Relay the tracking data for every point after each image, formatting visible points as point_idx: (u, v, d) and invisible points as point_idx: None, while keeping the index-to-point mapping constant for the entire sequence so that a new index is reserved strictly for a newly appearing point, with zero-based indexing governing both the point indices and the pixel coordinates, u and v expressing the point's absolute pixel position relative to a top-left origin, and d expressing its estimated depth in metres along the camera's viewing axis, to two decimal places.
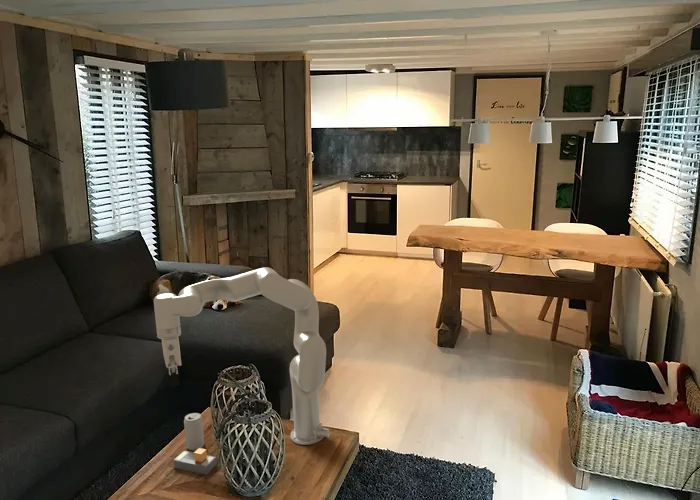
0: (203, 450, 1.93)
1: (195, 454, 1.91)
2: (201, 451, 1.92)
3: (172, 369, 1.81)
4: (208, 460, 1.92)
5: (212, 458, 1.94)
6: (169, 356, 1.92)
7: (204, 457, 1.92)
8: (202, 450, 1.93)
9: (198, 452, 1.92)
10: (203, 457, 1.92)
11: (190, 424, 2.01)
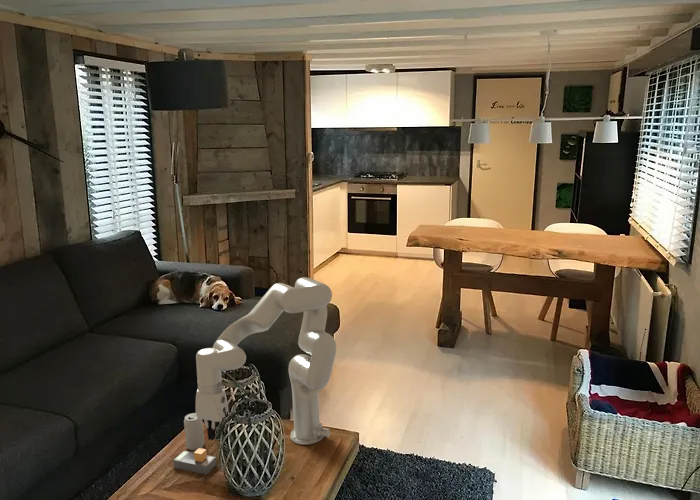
0: (203, 450, 1.93)
1: (195, 454, 1.91)
2: (201, 451, 1.92)
3: None
4: (208, 460, 1.92)
5: (212, 458, 1.94)
6: None
7: (204, 457, 1.92)
8: (202, 450, 1.93)
9: (198, 452, 1.92)
10: (203, 457, 1.92)
11: (190, 424, 2.01)
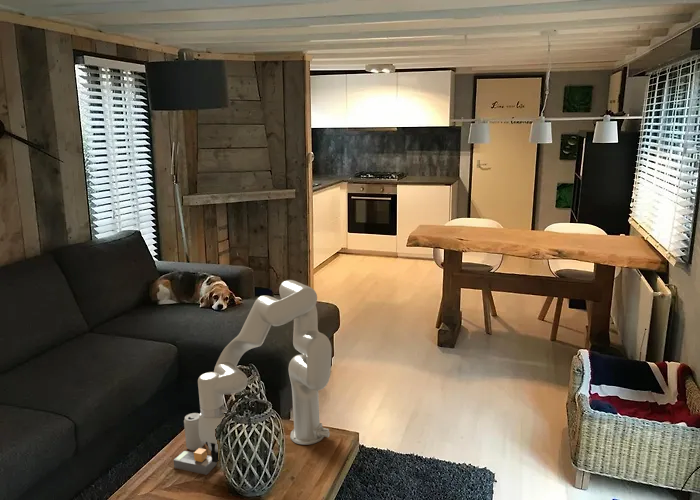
0: (203, 450, 1.93)
1: (195, 454, 1.91)
2: (201, 451, 1.92)
3: None
4: (208, 460, 1.92)
5: None
6: None
7: (204, 457, 1.92)
8: (202, 450, 1.93)
9: (198, 452, 1.92)
10: (203, 457, 1.92)
11: (191, 424, 2.01)
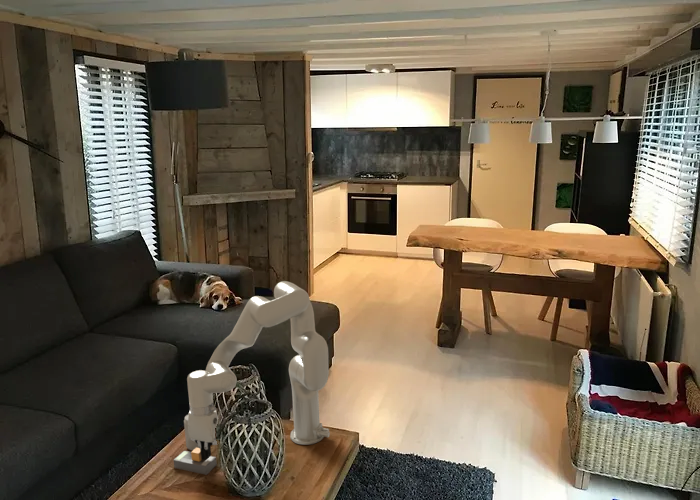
0: None
1: (192, 453, 1.92)
2: (198, 450, 1.92)
3: None
4: (208, 460, 1.92)
5: (212, 458, 1.94)
6: None
7: None
8: (199, 449, 1.93)
9: (195, 451, 1.92)
10: (200, 456, 1.92)
11: None
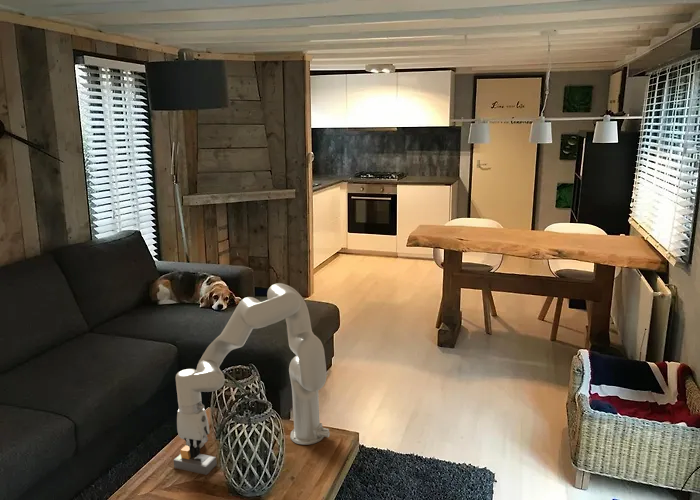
0: None
1: (182, 451, 1.93)
2: (188, 448, 1.94)
3: None
4: (208, 460, 1.92)
5: (212, 458, 1.94)
6: None
7: None
8: (188, 447, 1.95)
9: (185, 449, 1.94)
10: None
11: None
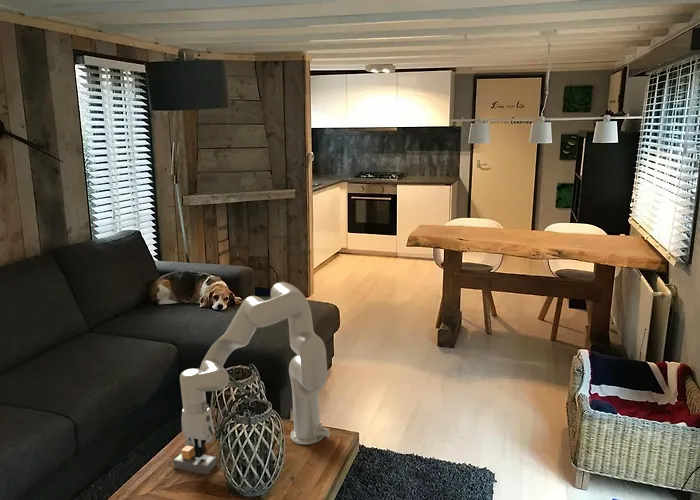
0: (191, 447, 1.94)
1: (183, 451, 1.93)
2: (189, 448, 1.94)
3: None
4: (208, 460, 1.92)
5: (212, 458, 1.94)
6: None
7: (191, 454, 1.94)
8: (189, 447, 1.95)
9: (185, 449, 1.94)
10: (190, 454, 1.94)
11: None
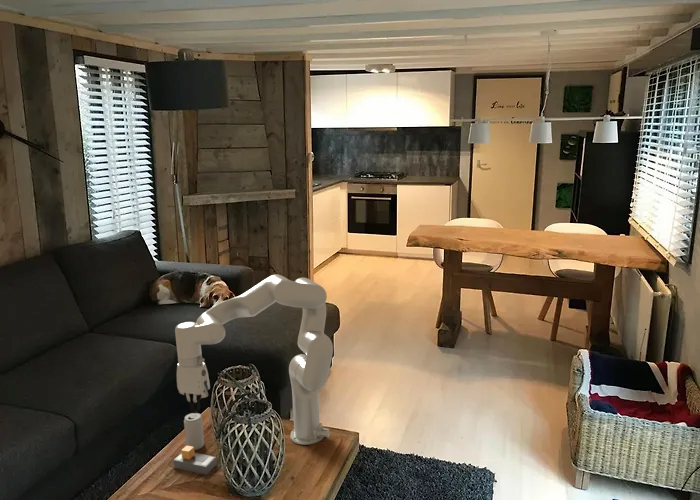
0: (191, 447, 1.94)
1: (183, 451, 1.93)
2: (189, 448, 1.94)
3: None
4: (208, 460, 1.92)
5: (212, 458, 1.94)
6: None
7: (191, 454, 1.94)
8: (189, 447, 1.95)
9: (185, 449, 1.94)
10: (190, 454, 1.94)
11: (190, 424, 2.01)
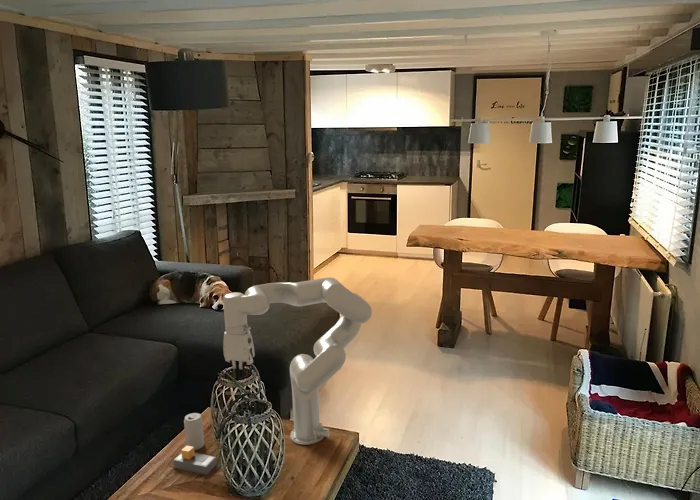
0: (191, 447, 1.94)
1: (183, 451, 1.93)
2: (189, 448, 1.94)
3: None
4: (208, 460, 1.92)
5: (212, 458, 1.94)
6: None
7: (191, 454, 1.94)
8: (189, 447, 1.95)
9: (185, 449, 1.94)
10: (190, 454, 1.94)
11: (190, 424, 2.01)
